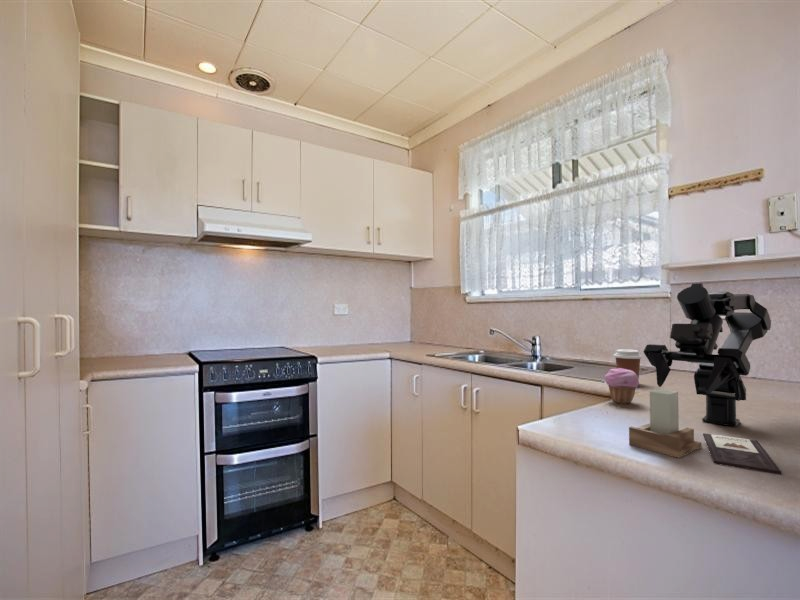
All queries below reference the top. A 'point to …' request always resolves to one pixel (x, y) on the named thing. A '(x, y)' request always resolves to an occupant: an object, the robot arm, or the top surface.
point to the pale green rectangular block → (664, 411)
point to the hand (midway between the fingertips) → (681, 388)
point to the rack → (664, 440)
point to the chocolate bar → (740, 453)
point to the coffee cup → (628, 360)
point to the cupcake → (622, 384)
